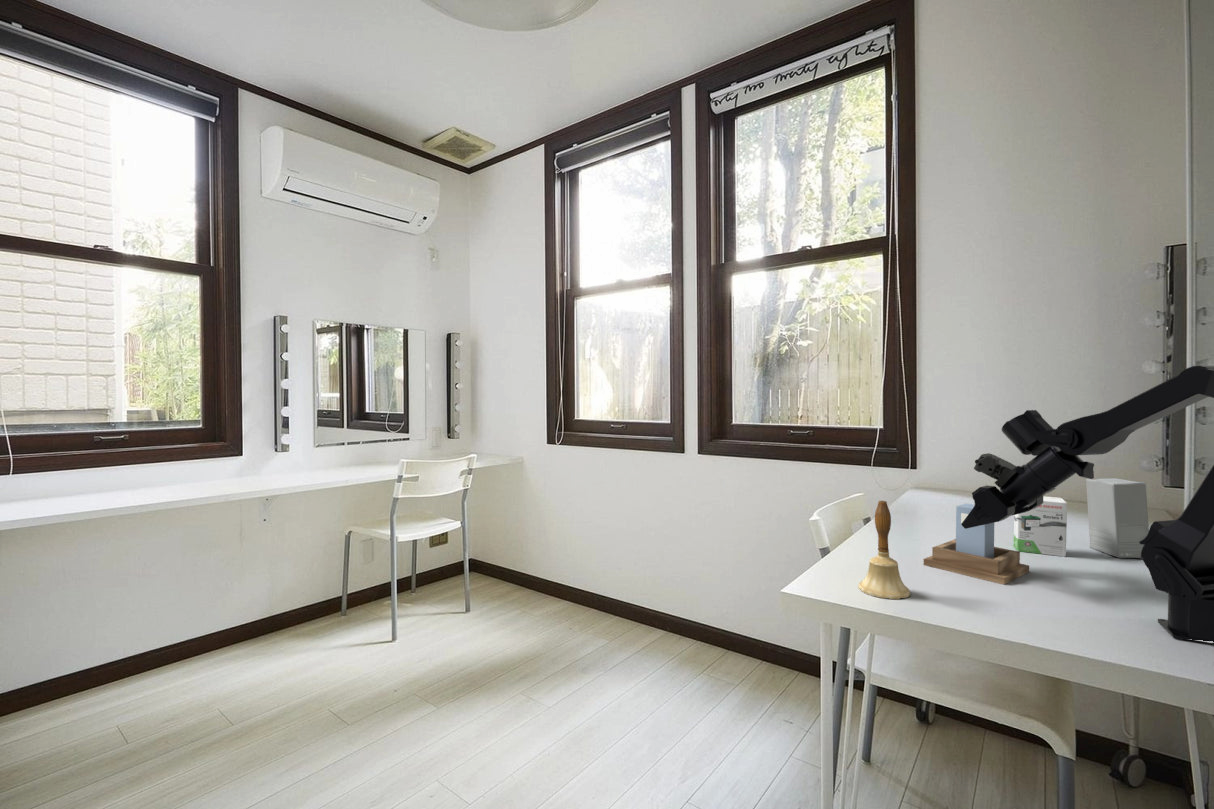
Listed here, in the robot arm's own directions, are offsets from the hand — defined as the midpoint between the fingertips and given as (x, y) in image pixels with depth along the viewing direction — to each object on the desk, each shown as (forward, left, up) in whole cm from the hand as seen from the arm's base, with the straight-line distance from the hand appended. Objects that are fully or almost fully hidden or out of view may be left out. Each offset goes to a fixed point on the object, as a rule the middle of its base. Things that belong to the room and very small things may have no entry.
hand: (973, 523), depth 108 cm
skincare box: (+26, -27, -9) cm, 39 cm away
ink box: (+20, -13, -9) cm, 26 cm away
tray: (0, 0, -9) cm, 9 cm away
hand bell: (-22, +15, -9) cm, 28 cm away
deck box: (0, 0, -8) cm, 8 cm away
